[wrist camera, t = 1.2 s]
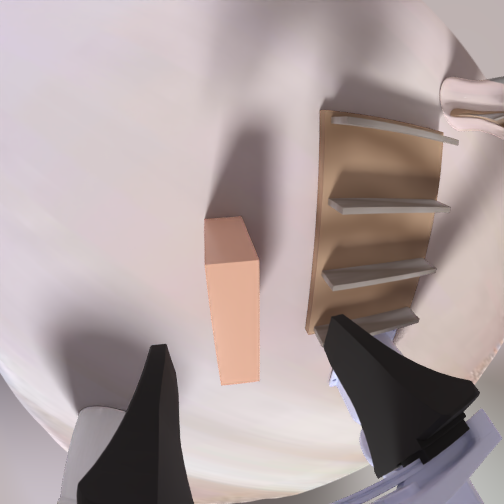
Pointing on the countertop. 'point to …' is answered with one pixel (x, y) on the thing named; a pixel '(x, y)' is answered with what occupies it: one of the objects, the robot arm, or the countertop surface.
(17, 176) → the countertop surface
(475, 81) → the beer glass
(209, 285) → the salmon pink box
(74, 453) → the utensil holder
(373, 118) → the dish rack
